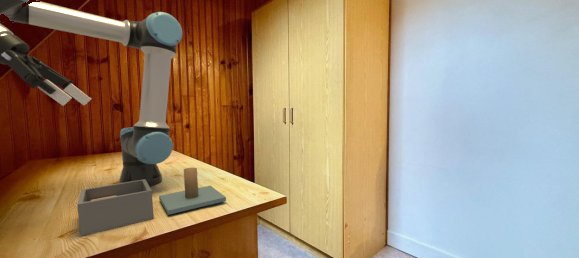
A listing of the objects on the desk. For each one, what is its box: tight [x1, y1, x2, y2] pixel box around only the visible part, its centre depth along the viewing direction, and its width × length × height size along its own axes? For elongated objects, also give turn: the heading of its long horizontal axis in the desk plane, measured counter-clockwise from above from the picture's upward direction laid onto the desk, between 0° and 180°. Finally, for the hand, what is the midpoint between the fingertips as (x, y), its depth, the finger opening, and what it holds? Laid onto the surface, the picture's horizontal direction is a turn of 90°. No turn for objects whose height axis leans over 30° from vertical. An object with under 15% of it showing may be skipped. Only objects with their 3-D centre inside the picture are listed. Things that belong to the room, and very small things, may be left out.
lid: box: [158, 167, 227, 215], centre depth 84 cm, size 15×17×11 cm
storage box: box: [76, 179, 155, 237], centre depth 74 cm, size 14×16×8 cm
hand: (78, 102), depth 73 cm, fingers open, 13 cm apart
